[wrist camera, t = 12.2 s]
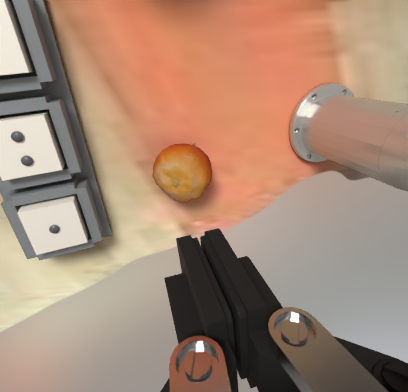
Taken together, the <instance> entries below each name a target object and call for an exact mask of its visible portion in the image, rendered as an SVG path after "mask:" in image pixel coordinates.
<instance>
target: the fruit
mask: <svg viewBox="0 0 408 392" xmlns="http://www.w3.org/2000/svg"><path fill="white" fill-rule="evenodd" d="M211 177H212V169H211V163H210V160H209V158H208V156H207V155H206V154H205V153H204V152H203V151H202V150H201V149H199V148H198V147H196V146H195V144H193V145H190V144H174V145H171V146H169V147H168V148H166V149H164V150H163V151H162V152H161V153H160V154H159V155H158V156H157V158H156V161H155V163H154V167H153V178H154V180H155V182H156V184H157V185H158V186H159V187H160V188H161V189H162V190H163V191H164V192H165V193H166V194H167V195H169V196H170V197H172V198H174V199H175V200H179V201H182V202H187V201H190V200H192V199H196V198H198V197H200V196H201V194H202V192H203V191H204V190H205V189H206V187H207V186H208V185H209V183H210V181H211Z"/></svg>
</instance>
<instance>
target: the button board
mask: <svg viewBox="0 0 408 392" xmlns="http://www.w3.org/2000/svg"><path fill="white" fill-rule="evenodd" d="M9 1H11V2H12V3H13V4H14V7H15V10H16V13H17V16H18V19H19V22H20V25H21V28H22V31H23V34H24V37H25V40H26V43H27V46H28V49H29V52H30V55H31V58H32V61H33V64H34V67H35V70H36V72H29V73H19V74H9V75H0V116H6V115H13V114H21V113H28V112H36V111H43V110H49V112H50V115H51V118H52V121H53V124H54V127H55V130H56V133H57V136H58V139H59V142H60V145H61V148H62V151H63V154H64V157H65V160H66V162H65V165H64V167H63V170H59V171H54V172H48V173H43V174H37V175H32V176H26V177H21V178H15V179H10V180H5V181H2V179H1V177H0V193H1V195H2V197H3V199H4V200H3V202H2V203H1V206H2V208H3V210H4V212H5V214H6V216H7V218H8V220H9V222H10V224H11V226H12V228H13V230H14V233H15V235H16V237H17V239H18V241H19V243H20V245H21V247H22V249H23V251H24V253H25V255H26V257H27V259H31V258H35V257H38V258H39V260H43V259H47V258H51V257H55V256H59V255H63V254H67V253H71V252H75V251H79V250H83V249H87V248H91V247H94V244H95V242H99V241H102V237H106V236H110V235H111V229H110V225H109V222H108V219H107V215H106V212H105V208H104V205H103V201H102V198H101V194H100V191H99V188H98V184H97V181H96V177H95V174H94V170H93V167H92V163H91V160H90V156H89V153H88V150H87V146H86V143H85V139H84V136H83V132H82V129H81V125H80V122H79V119H78V115H77V112H76V108H75V105H74V101H73V98H72V94H71V91H70V88H69V84H68V81H67V77H66V74H65V70H64V67H63V63H62V60H61V57H60V53H59V50H58V46H57V43H56V39H55V36H54V32H53V29H52V25H51V22H50V19H49V15H48V12H47V8H46V5H45V1H44V0H9ZM72 194H77V196H78V199H79V202H80V205H81V208H82V211H83V214H84V217H85V220H86V223H87V226H88V229H89V231H88V242H87V243H83V244H79V245H75V246H71V247H67V248H63V249H59V250H55V251H51V252H47V253H43V254H39V255H36V253H35V251H34V249H33V246H32V244H31V242H30V240H29V238H28V236H27V233H26V231H25V229H24V227H23V225H22V223H21V220H20V218H19V216H18V214H17V213H18V211H19V209H20V207H21V206H22V205H24V204H29V203H33V202H38V201H43V200H48V199H53V198H58V197H63V196H68V195H72Z"/></svg>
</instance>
